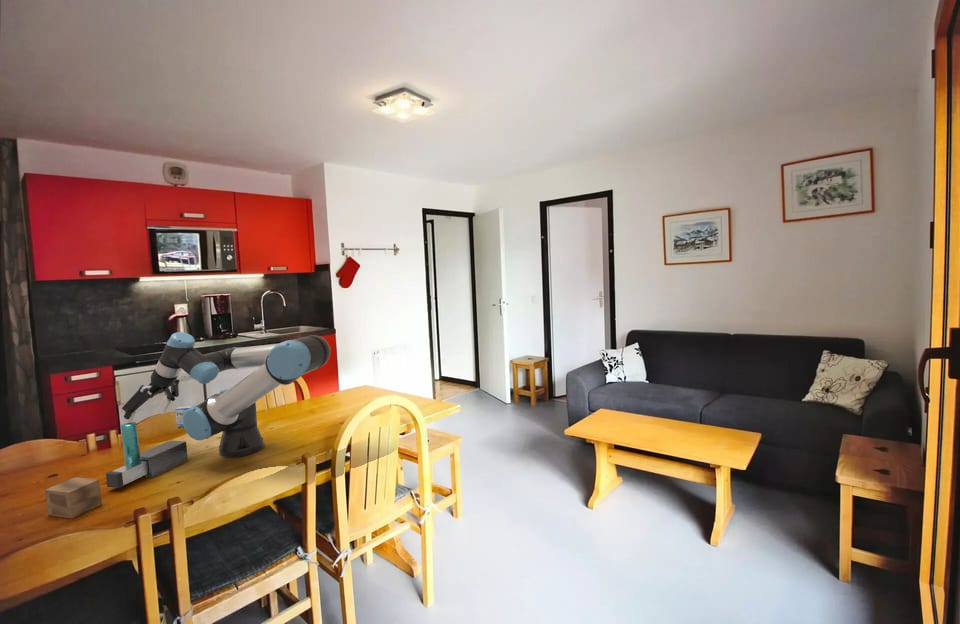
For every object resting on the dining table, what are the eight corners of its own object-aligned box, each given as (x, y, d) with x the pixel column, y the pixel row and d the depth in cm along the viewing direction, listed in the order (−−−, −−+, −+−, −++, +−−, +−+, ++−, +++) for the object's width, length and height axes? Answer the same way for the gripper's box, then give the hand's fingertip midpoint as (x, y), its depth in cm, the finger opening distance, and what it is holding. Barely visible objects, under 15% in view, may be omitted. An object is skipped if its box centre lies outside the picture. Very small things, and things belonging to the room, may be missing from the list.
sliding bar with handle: (172, 457, 168) (167, 408, 166) (182, 457, 167) (177, 409, 165) (107, 487, 145) (100, 431, 144) (118, 488, 144) (112, 432, 143)
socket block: (78, 501, 139) (75, 477, 139) (101, 504, 137) (98, 479, 137) (48, 515, 132) (44, 489, 131) (72, 518, 130) (69, 492, 129)
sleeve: (172, 459, 169) (170, 440, 168) (187, 460, 167) (186, 441, 167) (135, 476, 156) (133, 456, 155) (152, 477, 154) (149, 457, 153)
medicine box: (176, 428, 203) (174, 408, 202) (181, 424, 208) (179, 405, 207) (196, 426, 205) (194, 407, 204) (200, 423, 209) (198, 404, 208)
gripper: (188, 358, 176) (166, 401, 181) (124, 373, 152) (100, 423, 157) (203, 370, 175) (180, 413, 180) (140, 387, 151) (116, 437, 156)
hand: (143, 418), depth 169 cm, fingers open, 13 cm apart
